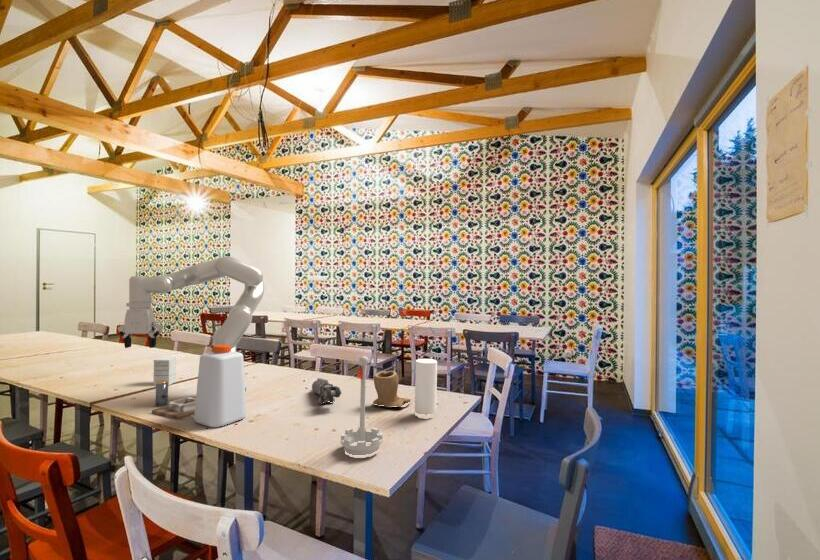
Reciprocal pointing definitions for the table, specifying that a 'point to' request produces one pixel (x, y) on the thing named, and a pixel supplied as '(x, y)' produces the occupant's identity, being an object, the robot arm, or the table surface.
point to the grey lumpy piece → (325, 390)
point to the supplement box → (165, 369)
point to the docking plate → (178, 408)
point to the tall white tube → (425, 385)
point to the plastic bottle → (220, 388)
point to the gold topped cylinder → (161, 393)
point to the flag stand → (361, 425)
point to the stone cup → (388, 389)
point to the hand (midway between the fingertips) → (140, 347)
